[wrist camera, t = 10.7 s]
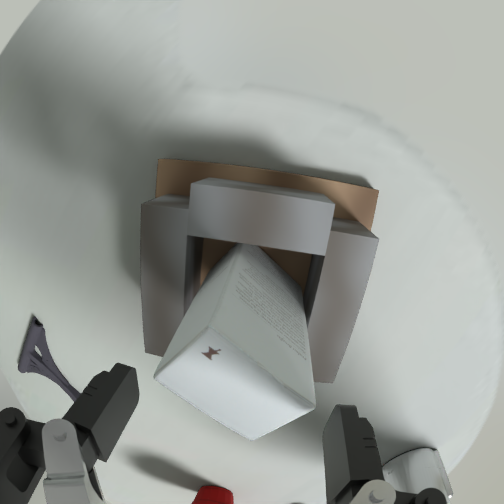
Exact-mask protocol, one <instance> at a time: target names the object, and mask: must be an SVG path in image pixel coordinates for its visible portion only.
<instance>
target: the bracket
mask: <svg viewBox="0 0 504 504" xmlns="http://www.w3.org/2000/svg"><path fill="white" fill-rule="evenodd" d="M36 320H37V318H36V317H34V318H33V319H32V322H31V325H30V328H29V331H28V334H27V337H26V340H25V343H24V347H23V350H22V353H21V357H20V361H19V364H18V370H19V371H20V372H21V373H25V372H26V371H27V373H29V372H34V373H38V374H41V375H43V376H46V377H48V378H49V379H51V380H52V381H54V382H55V383H57V384H58V385H59V386H60V387H61V388H62V389H63V390H64V391H65V392H66V393H67V394H68V395H69V396H70V397H71V399H72V400H73V401H74V402H75V401H76V400H77V398H78V397H79V396H80V394H81V393H79V392H78V391H77V390H76V389H75V388H74V387H72V386H71V385H70V384H69V383H68V382H67V380H66V379H65V378H64V377H63V375H62V374H61V373H60V371H59V370H58V368H57V366H56V365H55V363H54V361H53V359H52V357H51V355H50V352H49V349H48V346H47V342H46V337H45V329H44V328H43V324H41V325H40V326H39V325H36V324H35V323H36ZM35 345H36V346H37V347H38V348H39V350H40V352H41V354H42V357H41V356H40V355H39V354H38V353H37V352H36V351H35V349H34V348H35Z"/></svg>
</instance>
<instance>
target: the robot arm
mask: <svg viewBox="0 0 504 504" xmlns="http://www.w3.org/2000/svg"><path fill="white" fill-rule="evenodd" d="M138 401H139V387H138V381H137V374H136V369H135V368H133V367H130V366H127V365H124V364H121V363H116V364H115V365H114V367H113V368H112V369H111V371H110V372H107V371H103V372H101V373H99V374H97V375H96V376H94V377H93V379H92V380H91V381H90V383H89V384H88V386H86V388H85V389H84V390H83V393H81V394H80V396H79V397H78V398H77V400H76V401H75V402H74V404H73V405H72V406H71V408H70V409H69V410H68V412H67V413H66V414H65V416H64V417H63V418H62V419H53V420H50V421H49V422H47V423H41V422H37V421H32V420H28V419H26V418H25V416H24V414H23V413H22V412H21V411H20V410H19V409H17V408H13V407H10V408H6V409H3V410H2V411H1V412H0V504H28V502H29V500H30V498H31V496H32V494H33V492H34V490H35V488H36V486H37V484H38V483H39V481H40V479H41V477H42V475H43V473H44V471H45V470H46V472H47V478H46V479H44V480H43V487H44V492H45V496H46V502H47V504H106V502H105V499H104V496H103V493H102V490H101V487H100V483H99V480H98V477H97V473H96V470H95V467H94V464H95V462H96V460H97V459H99V460H102V461H104V462H107V460H108V458H109V456H110V454H111V452H112V450H113V449H114V447H115V445H116V443H117V441H118V439H119V437H120V436H121V434H122V432H123V430H124V428H125V426H126V425H127V423H128V421H129V419H130V417H131V415H132V414H133V412H134V410H135V408H136V406H137V404H138ZM323 450H324V464H325V479H326V498H327V504H451V503H450V500H449V498H451V497H452V495H453V491H452V488H451V485H450V482H449V479H448V476H447V473H446V471H445V468H444V465H443V462H442V460H441V457H440V454H439V452H438V450H436V451H433V450H432V449H429V448H421V449H416V450H413V451H410V452H407V453H404V454H402V455H400V456H398V457H396V458H394V459H392V460H391V461H389V462H388V463H387V464H385V465H384V466H383V467H382V466H381V461H380V457H379V452H378V448H377V444H376V440H375V435H374V431H373V427H372V426H371V424H370V423H369V422H368V420H367V419H366V418H359V416H358V412H357V408H356V406H355V405H336V406H335V408H334V410H333V412H332V414H331V416H330V418H329V420H328V422H327V424H326V426H325V428H324V432H323Z"/></svg>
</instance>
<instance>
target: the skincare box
mask: <svg viewBox="0 0 504 504" xmlns="http://www.w3.org/2000/svg"><path fill="white" fill-rule="evenodd" d="M154 379H155V380H156V381H158V382H159V383H160V384H162V385H163V386H165V387H166V388H167V389H169V390H170V391H172V392H173V393H175V394H176V395H178V396H179V397H181V398H182V399H184V400H185V401H186V402H188V403H189V404H191V405H192V406H194V407H195V408H197V409H198V410H200V411H202V412H203V413H205V414H206V415H208V416H209V417H211V418H212V419H214V420H216V421H217V422H219V423H221V424H222V425H224V426H226V427H228V428H229V429H231V430H233V431H234V432H236V433H238V434H240V435H241V436H243V437H245V438H247V439H248V440H250V441H253V440H255V439H257V438H259V437H262V436H264V435H266V434H268V433H270V432H272V431H274V430H276V429H277V428H279V427H281V426H283V425H285V424H287V423H289V422H291V421H293V420H295V419H297V418H299V417H300V416H302V415H304V414H306V413H308V412H310V411H312V410H314V409H315V408H316V398H315V390H314V380H313V372H312V363H311V356H310V347H309V339H308V332H307V324H306V317H305V310H304V303H303V295H302V289H301V286H300V285H299V284H298V283H296V282H295V281H294V280H293V279H292V278H291V277H290V276H289V275H288V274H287V273H286V272H285V271H284V270H283V269H282V268H281V267H280V266H279V265H278V264H277V263H276V262H274V261H273V260H272V259H271V258H270V257H269V256H268V255H267V254H266V253H265V252H264V251H263V250H262V249H261V248H260V247H259V246H257V245H251V244H244V243H238V242H237V243H236V244H235V245H234V246H233V247H232V248H231V249H230V250H229V251H228V252H227V253H226V254H225V255H224V256H223V257H222V258H221V259H220V261H219V262H218V263H217V264H216V265H215V266H214V267H213V268H212V269H211V270H210V271H209V272H208V274H207V276H206V278H205V279H204V281H203V283H202V285H201V286H200V288H199V290H198V292H197V294H196V296H195V298H194V299H193V301H192V303H191V305H190V307H189V309H188V310H187V312H186V314H185V316H184V318H183V320H182V322H181V324H180V326H179V327H178V329H177V331H176V333H175V335H174V337H173V339H172V341H171V342H170V344H169V346H168V348H167V350H166V352H165V354H164V356H163V358H162V360H161V362H160V363H159V365H158V367H157V369H156V371H155V374H154Z"/></svg>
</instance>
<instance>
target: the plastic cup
mask: <svg viewBox="0 0 504 504" xmlns="http://www.w3.org/2000/svg"><path fill="white" fill-rule="evenodd" d="M192 504H234V503H233V493H232V492H231V491H229V490H227V489H225V488H221V487H216V486H203V487H201V488H200V490H199V491H198V493H197V495H196V497H195V499H194V501H193V502H192Z"/></svg>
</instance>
